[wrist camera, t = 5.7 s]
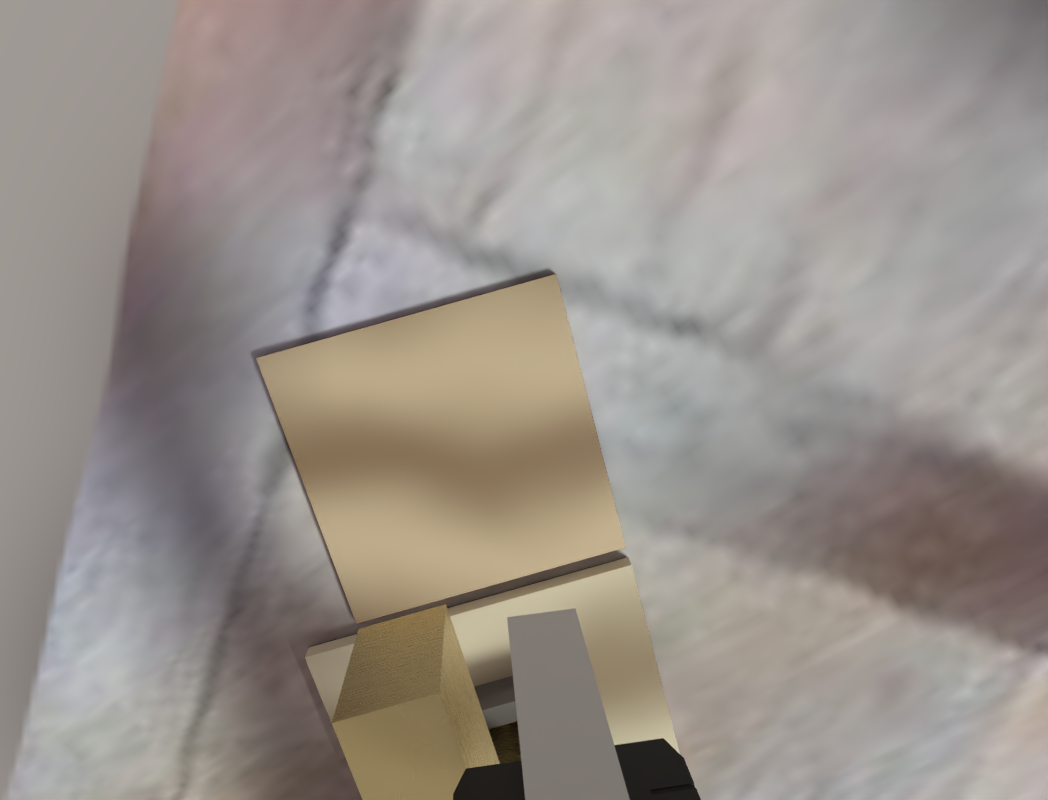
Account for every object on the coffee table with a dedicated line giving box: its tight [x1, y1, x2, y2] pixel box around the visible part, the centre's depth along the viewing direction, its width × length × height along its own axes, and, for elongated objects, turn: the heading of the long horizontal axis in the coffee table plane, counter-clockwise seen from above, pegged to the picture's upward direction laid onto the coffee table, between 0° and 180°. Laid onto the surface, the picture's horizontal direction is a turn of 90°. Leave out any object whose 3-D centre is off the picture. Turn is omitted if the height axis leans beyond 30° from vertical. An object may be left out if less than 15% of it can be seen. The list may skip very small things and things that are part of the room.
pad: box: [256, 274, 626, 624], centre depth 23 cm, size 10×10×1 cm
